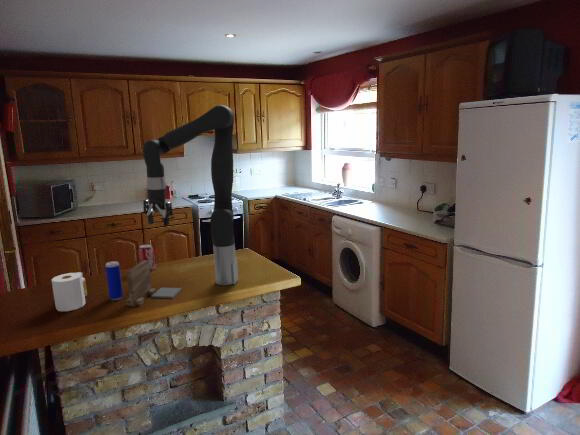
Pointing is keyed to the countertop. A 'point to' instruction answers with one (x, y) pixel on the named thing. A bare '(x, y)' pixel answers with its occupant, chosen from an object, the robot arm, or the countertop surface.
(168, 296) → the coaster
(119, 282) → the beverage can
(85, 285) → the supplement bottle
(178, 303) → the countertop surface
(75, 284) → the toilet paper
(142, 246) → the soda can
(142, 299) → the board
